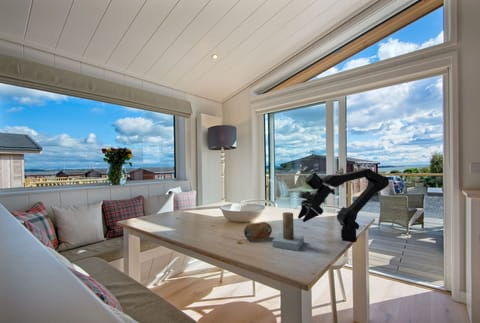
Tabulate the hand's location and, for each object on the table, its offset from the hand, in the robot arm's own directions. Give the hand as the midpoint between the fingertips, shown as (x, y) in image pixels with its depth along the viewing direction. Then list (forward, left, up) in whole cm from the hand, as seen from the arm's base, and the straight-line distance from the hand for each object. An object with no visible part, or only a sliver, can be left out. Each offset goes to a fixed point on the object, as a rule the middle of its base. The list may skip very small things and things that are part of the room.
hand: (300, 219), depth 115 cm
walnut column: (+5, +5, -8) cm, 11 cm away
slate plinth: (+5, +5, -11) cm, 13 cm away
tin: (+22, +3, -11) cm, 25 cm away
